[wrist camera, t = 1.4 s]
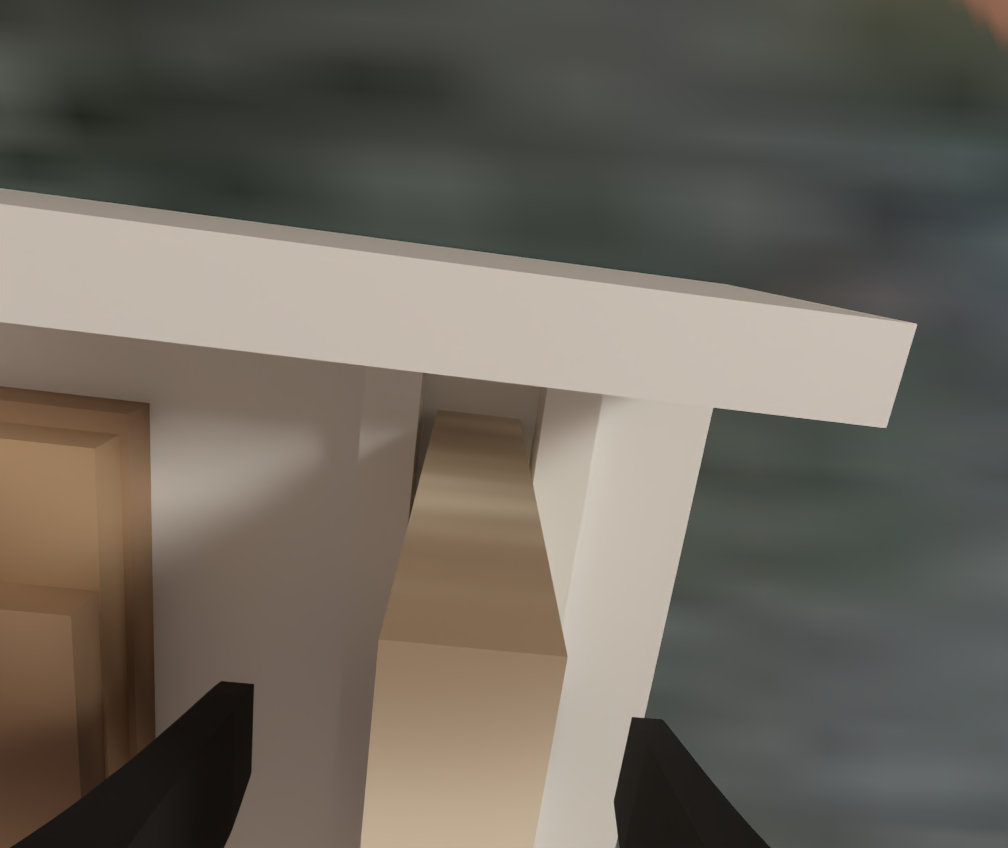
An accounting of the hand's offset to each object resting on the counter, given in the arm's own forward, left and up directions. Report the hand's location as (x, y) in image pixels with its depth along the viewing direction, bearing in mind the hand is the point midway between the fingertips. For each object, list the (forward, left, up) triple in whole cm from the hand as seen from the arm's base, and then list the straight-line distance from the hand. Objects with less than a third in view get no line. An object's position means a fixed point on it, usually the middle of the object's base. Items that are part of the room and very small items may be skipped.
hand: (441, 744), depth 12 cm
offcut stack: (-6, +5, -2) cm, 8 cm away
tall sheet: (0, 0, -2) cm, 2 cm away
